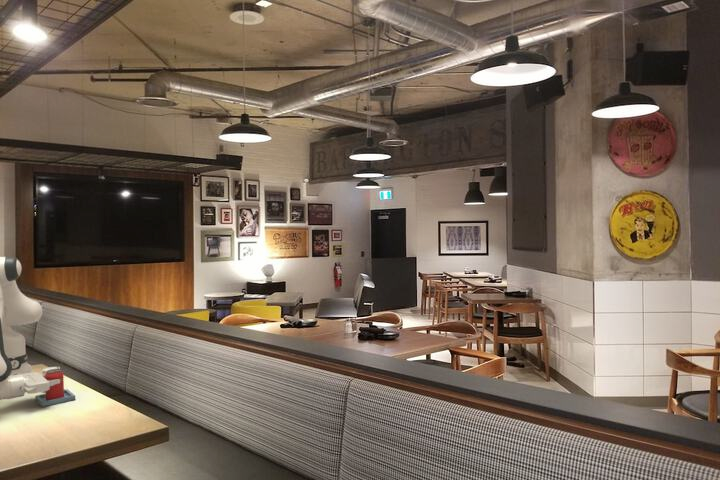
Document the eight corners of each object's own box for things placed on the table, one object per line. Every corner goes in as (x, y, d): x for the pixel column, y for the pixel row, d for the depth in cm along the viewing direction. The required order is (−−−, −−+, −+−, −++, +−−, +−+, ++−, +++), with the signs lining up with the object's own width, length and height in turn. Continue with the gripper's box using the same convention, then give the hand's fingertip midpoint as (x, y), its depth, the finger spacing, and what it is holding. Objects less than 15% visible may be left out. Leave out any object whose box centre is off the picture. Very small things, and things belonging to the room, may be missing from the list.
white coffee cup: (64, 389, 230) (63, 367, 230) (51, 394, 224) (50, 371, 224) (52, 388, 232) (51, 366, 232) (39, 393, 226) (38, 370, 226)
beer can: (55, 402, 212) (54, 373, 211) (41, 401, 213) (40, 372, 213) (67, 396, 218) (66, 368, 218) (54, 396, 220) (53, 368, 219)
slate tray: (35, 400, 216) (35, 395, 216) (67, 393, 224) (67, 389, 224) (42, 407, 207) (42, 402, 207) (75, 400, 216) (75, 395, 216)
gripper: (22, 383, 199) (63, 375, 209) (12, 373, 214) (50, 366, 223) (23, 399, 199) (63, 391, 209) (13, 388, 214) (51, 381, 224)
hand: (56, 378), depth 216 cm, fingers open, 8 cm apart
